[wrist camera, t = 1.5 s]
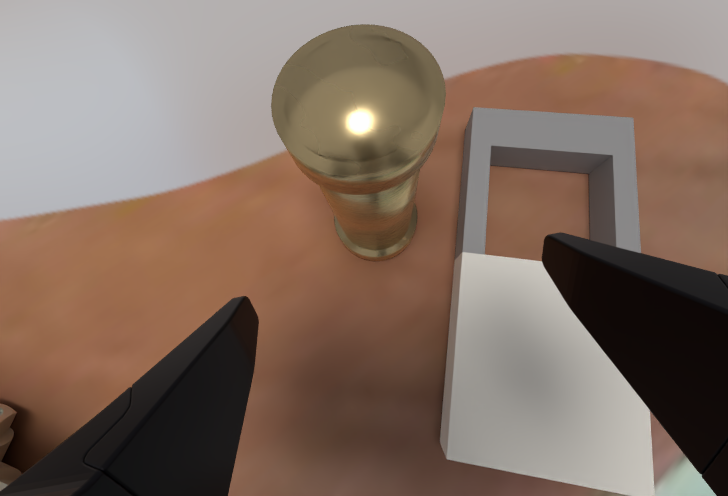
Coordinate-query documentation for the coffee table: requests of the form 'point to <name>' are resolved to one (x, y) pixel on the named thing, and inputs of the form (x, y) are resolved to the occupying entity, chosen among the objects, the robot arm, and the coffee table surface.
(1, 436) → the ball valve
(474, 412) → the grey holder base
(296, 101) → the brass fitting
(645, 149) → the coffee table surface
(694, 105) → the coffee table surface
